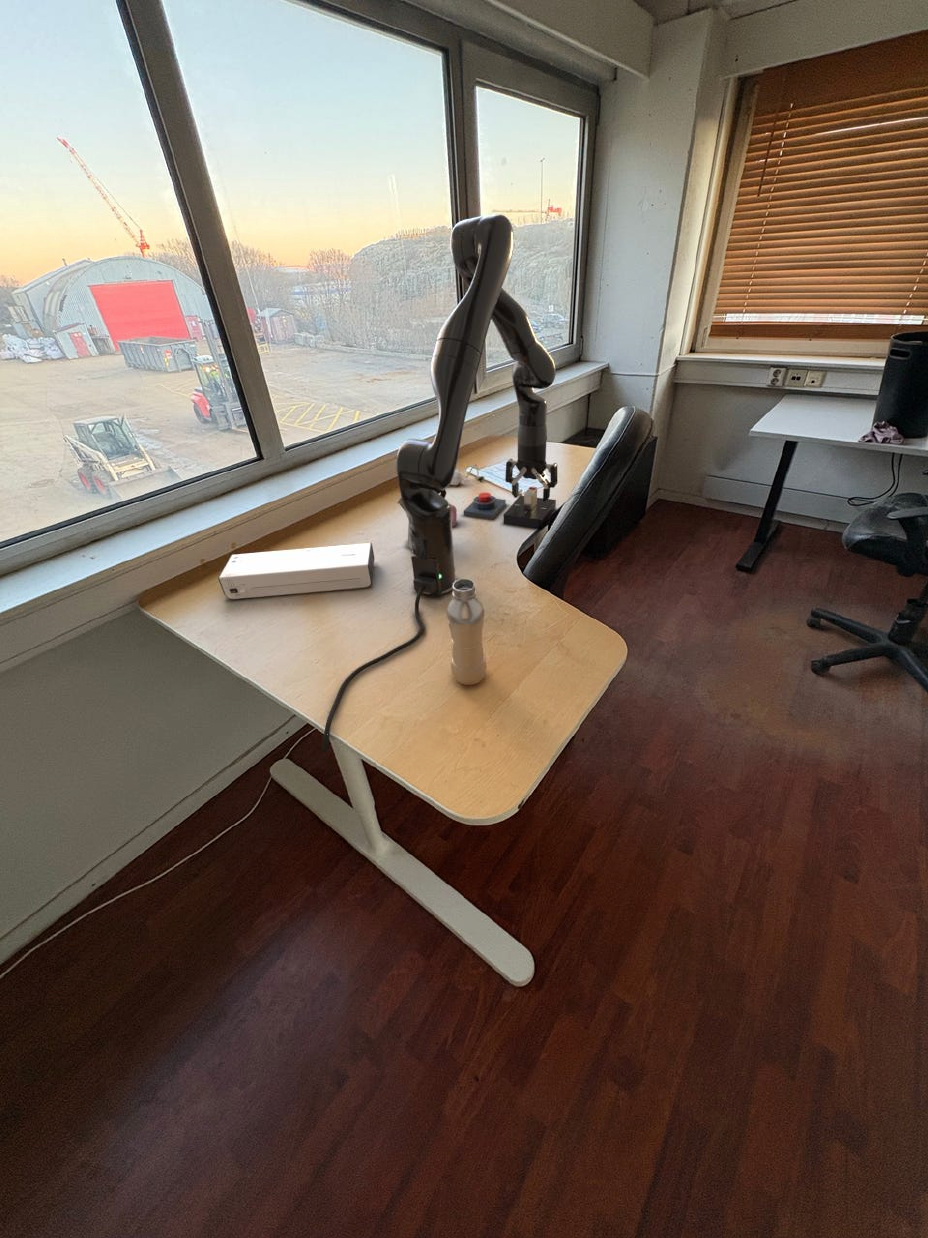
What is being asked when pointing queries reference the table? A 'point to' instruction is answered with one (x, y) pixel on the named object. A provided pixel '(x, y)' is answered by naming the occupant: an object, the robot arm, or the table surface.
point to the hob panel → (529, 513)
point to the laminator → (298, 571)
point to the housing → (485, 508)
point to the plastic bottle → (466, 633)
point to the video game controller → (453, 514)
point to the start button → (484, 497)
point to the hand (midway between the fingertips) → (530, 498)
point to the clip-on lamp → (459, 477)
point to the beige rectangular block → (530, 498)
